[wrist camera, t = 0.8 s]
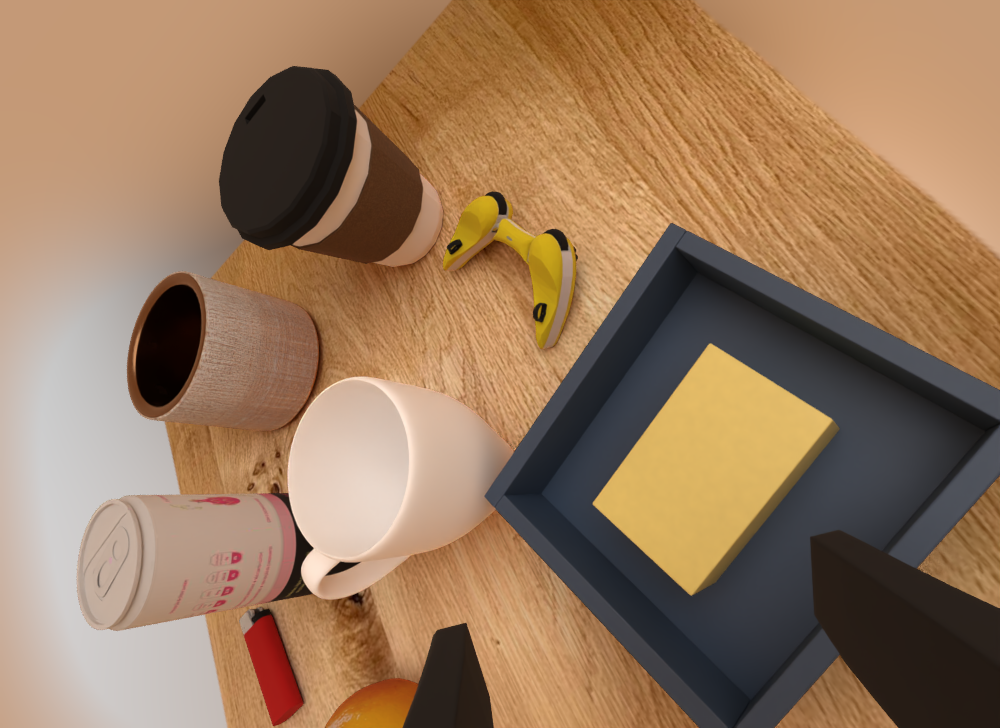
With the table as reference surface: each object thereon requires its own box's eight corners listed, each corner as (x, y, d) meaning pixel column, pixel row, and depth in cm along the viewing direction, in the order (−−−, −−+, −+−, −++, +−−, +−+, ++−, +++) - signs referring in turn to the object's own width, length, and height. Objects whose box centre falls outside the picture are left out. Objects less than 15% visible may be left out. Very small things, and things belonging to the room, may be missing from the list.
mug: (479, 378, 37) (339, 341, 27) (575, 455, 32) (446, 443, 23) (389, 529, 39) (230, 543, 29) (468, 622, 34) (309, 674, 25)
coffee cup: (344, 223, 47) (200, 154, 37) (436, 126, 43) (302, 20, 33) (386, 327, 42) (233, 279, 32) (494, 229, 38) (358, 140, 28)
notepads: (840, 428, 22) (833, 419, 19) (714, 583, 24) (691, 596, 21) (729, 358, 25) (709, 342, 22) (623, 502, 26) (591, 503, 24)
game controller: (611, 248, 32) (572, 249, 29) (570, 344, 35) (531, 352, 33) (498, 180, 37) (457, 176, 35) (471, 268, 40) (432, 270, 38)
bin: (1010, 434, 22) (1052, 416, 16) (772, 704, 25) (737, 769, 19) (712, 273, 30) (670, 221, 24) (554, 494, 32) (483, 496, 27)
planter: (228, 404, 52) (110, 390, 44) (268, 290, 51) (156, 255, 43) (295, 453, 45) (171, 446, 37) (342, 323, 45) (226, 289, 37)
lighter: (269, 728, 40) (235, 622, 44) (284, 722, 41) (250, 619, 45) (291, 706, 39) (254, 600, 43) (306, 701, 40) (269, 598, 44)
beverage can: (297, 540, 43) (64, 562, 31) (340, 473, 42) (115, 468, 30) (338, 609, 40) (94, 664, 28) (386, 538, 39) (153, 563, 26)
